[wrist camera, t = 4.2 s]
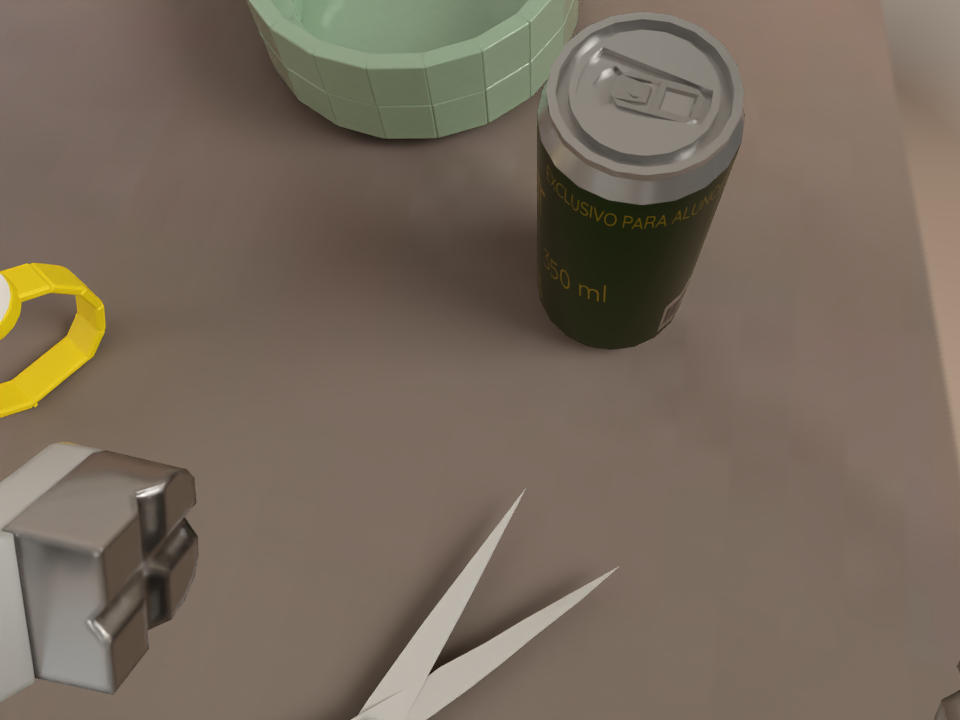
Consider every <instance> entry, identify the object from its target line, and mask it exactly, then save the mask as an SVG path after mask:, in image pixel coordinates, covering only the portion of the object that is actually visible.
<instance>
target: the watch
mask: <svg viewBox="0 0 960 720" xmlns="http://www.w3.org/2000/svg"><path fill="white" fill-rule="evenodd" d="M48 293H57V294H71V295H76V303H77V311H78V312H77V314H76V316H75V318H74V321H73V323H72V325H71V328H70V330H69V332H68V335H67V336H66V337H65V338H63V339H62V340H61V341H60V342H58V343H57V344H56V345H55V346H53V347H52V348H51V349H50V350H49V351H47V352H46V353H45V354H44V355H42V356H41V357H40V358H39V359H37V360H36V361H35V362H34V363H32V364H31V365H30V366H29V367H27V368H26V369H25V370H24V371H22V372H21V373H20V374H19V375H17V376H16V377H15V378H14V379H12V380H11V381H8V382H4V383H1V384H0V418H1V417H4V416H8V415H11V414H14V413H17V412H20V411H23V410H27V409H30V408H32V407H33V406H34V407H36V406H37V405H38V404H37V402H38V401H40V400H41V399H42V398H43V397H44V396H46V395H47V394H48V393H49V392H51V391H52V390H53V389H54V388H55V387H57V386H58V385H59V384H60V383H62V382H63V381H64V380H65V379H66V378H68V377H69V376H70V375H71V374H72V373H74V372H75V371H76V370H77V369H79V368H80V367H81V366H82V365H83V364H85V363H86V362H87V361H88V360H90V359H91V358H92V357H94V354H95V352H96V350H97V348H98V346H99V343H100V341H101V339H102V337H103V335H104V332H105V328H106V322H105V311H104V305H103V304H102V301H101V300H100V299H99V298H98V297H97V296H96V295H95V294H94V293H93V292H92V291H91V290H90V289H89V288H88V287H87V286H86V285H85V284H84V283H83V282H82V281H81V280H80V279H78V278H77V277H76V276H75V275H74V274H73V273H72V272H71V271H69V270H68V269H67V268H64V267H63V266H58V265H49V264H40V263H30V264H28V263H27V264H24V265H20V266H17V267H14V268H10V269H7V270H4V271H0V340H1V339H3V338H4V337H5V336H6V335H7V334H8V333H9V332H10V331H11V330H12V328H13V327H14V325H15V323H16V322H17V320H18V318H19V315H20V311H21V305H22V302H23V301H26V300H29V299H33V298H36V297H39V296H42V295H45V294H48Z"/></svg>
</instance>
